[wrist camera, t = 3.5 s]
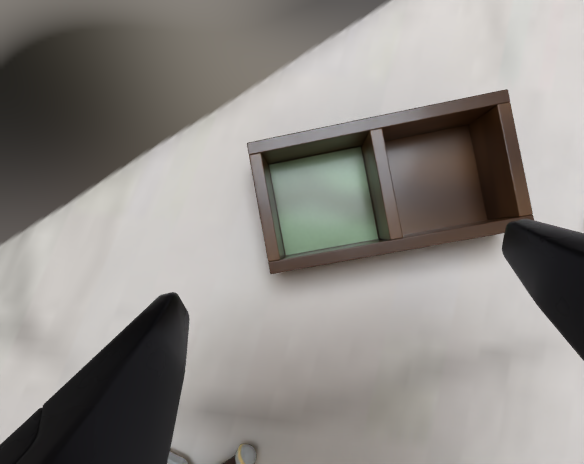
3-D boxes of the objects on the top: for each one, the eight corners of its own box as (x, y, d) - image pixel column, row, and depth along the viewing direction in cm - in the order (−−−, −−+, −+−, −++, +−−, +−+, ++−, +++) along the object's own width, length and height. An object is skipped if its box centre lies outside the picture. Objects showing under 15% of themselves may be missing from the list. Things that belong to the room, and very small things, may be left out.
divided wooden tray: (496, 228, 23) (536, 227, 19) (277, 267, 24) (270, 274, 20) (473, 114, 23) (507, 88, 19) (257, 158, 24) (246, 142, 20)
